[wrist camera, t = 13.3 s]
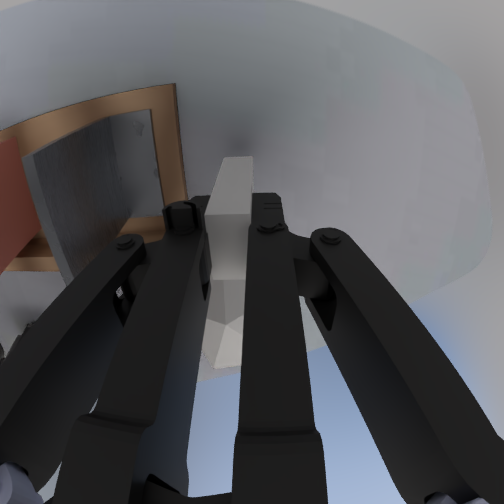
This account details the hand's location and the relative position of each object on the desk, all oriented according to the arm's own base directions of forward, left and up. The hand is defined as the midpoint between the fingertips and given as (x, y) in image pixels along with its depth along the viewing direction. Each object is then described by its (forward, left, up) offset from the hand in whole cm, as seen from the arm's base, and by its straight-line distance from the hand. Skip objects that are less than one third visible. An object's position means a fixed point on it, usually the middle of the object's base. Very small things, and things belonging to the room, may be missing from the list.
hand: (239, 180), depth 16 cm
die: (0, -11, -6) cm, 13 cm away
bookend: (-8, 0, -5) cm, 9 cm away
